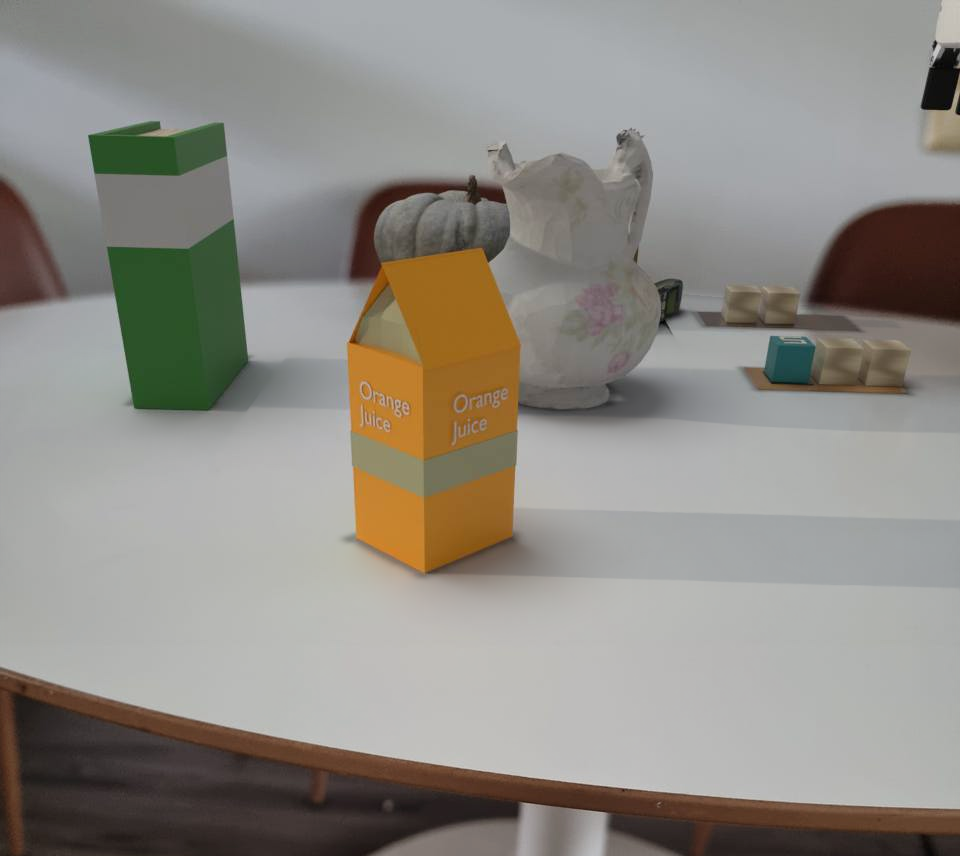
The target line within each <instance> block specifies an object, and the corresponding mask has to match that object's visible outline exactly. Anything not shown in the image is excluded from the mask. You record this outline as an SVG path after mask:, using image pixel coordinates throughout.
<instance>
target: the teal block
mask: <svg viewBox="0 0 960 856" xmlns="http://www.w3.org/2000/svg"><path fill="white" fill-rule="evenodd" d="M815 345H816V344H814V343H813V342H812V341H811V339H809V338H808V337H807V336H793V335H792V336H791V335H790V336H789V335H788V336H787V335H770V336H769V341H768V346H767V352H766V358H765V362H764V363H765V364H764V368H765V369H764V372H765V374H766V375H767V376H768V377H769V379H770V380H771V381H772V382H785V383H809V378H810V373H811V368H812V363H813V358H814V353H815V348H816V346H815Z"/></svg>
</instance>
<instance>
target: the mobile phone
mask: <svg viewBox="0 0 960 856" xmlns="http://www.w3.org/2000/svg"><path fill="white" fill-rule="evenodd" d="M654 284H655V286H656V288H657V290H658V293H659V297H660V301H661V316H660V321H659V324H662V323H664V322H666V319H669V318H671V317H673V316H675V315H677V313H678V312H679V310H680V308H681V304H682V298H683V290H684V283H683V280H681V279H678V278H665V279H662V280H659V281H656V282H654Z"/></svg>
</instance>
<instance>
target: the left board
mask: <svg viewBox="0 0 960 856" xmlns="http://www.w3.org/2000/svg"><path fill="white" fill-rule="evenodd" d="M800 298H801V292H799V291H798V290H797V289H795V287H793V286H772V285H763V286H762V291H761V290H760V288H758V287H757V286H756V285H738V284H737V285H736V284H726V285H725V287H724V294H723V301H722V308H721V311H720V312H719V311H696V314H697V315H698V316H699V318H700V319H701V321H702V322H703V323H704V326H705V327H715V328H716V327H721V328H753V329H756V328H757V329H787V330H789V329H790V330H819V331H820V330H823V331H826V330H828V331H856V332H857V331H860V329H859V328H858V327H856V326H855V325H854V324H853V323H852V322H851V321H849V320H848V319H847V318H845V316H843V315H827V314H825V315H824V314H798V308H799V303H800Z"/></svg>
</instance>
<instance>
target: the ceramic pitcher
mask: <svg viewBox="0 0 960 856" xmlns="http://www.w3.org/2000/svg"><path fill="white" fill-rule="evenodd" d="M636 130H637V128H632V127H630V128H629V129H623V130H620V131H619V132H618V134H616V138H615V139H616V148H615V151H614V153H613V156H612V159H611V160H610V161H609V162H608V164H607V165H606V166H605V167H604V168H592V166H590V165H589V164H588V162H587V161H585V160H584V159H581V158H578V157H576V156H574V155H571V154H568V153H566V152H564V151H560V152H557V153H553V154H549V155H547V156H545V157H543V158H541V159H537V160H536V159H535V160H527V161H526V160H521V161H519V162H514V159H513V156H512V153H511V151H510V149H509V146H508V143H507V140H497V141H494V142H492V144H491V145H490V144H489V145H485V146H484V147H485V150H486V151H487V166H488V169H489V173H490V175H491V178H492V179H493V180H494V181H495V182H496V183H497V184H498V185H500V186H502V190H503V193H504V199H505V201H506V202H505V203H506V204H507V206H508V210H509V214H510V236H509V238H508V240H507V243H506V245H505V247H504V249H503V250H502V251H501V252H500V253H499V254H498V255H497V256H496V257H495V258H494V259H493V260H491V261H490V262H489V263H488V264H489V266H490V269H491V271H492V274H493V276H494V279H495V281H496V284H497V286H498V289H499V291H500V294H501V296H502V299H503V301H504V304H505V306H506V309H507V311H508V314H509V316H510V319H511V321H512V324H513V326H514V329H515V331H516V334H517V336H518V339H519V341H520V343H521V346H522V347H521V348H520V371H519V395H518V404H521V405H525V406H529V407H533V408H541V409H549V410H584V409H591V408H593V407H598V406H601V405H604V404H605V403H606V402H608V401H609V397H610V390H609V388H608V386H607V384H610V383H613V382H616V381H618V380H621V379H622V378H624V377H626V376H627V375H628V374H630V373H631V372H632V371H633V370H634V369H635V368H637V367H638V366H639V364H640V363H641V362H642V361H643V359H644V358H645V357H646V355H647V354H648V352H649V351H650V350H651V348H652V345H653V344H654V341H655V339H656V337H657V334H658V331H659V326H660V323H659V321H660V316H661V301H660V297H659V293H658V290H657V288H656V286H655V284H654V283H655V282H654V280H653V278H652V277H651V276H650V275H649V274H648V272H646V270H644V269H643V268H641V266H639V264H638V262H637V263H636V262H635V261H634V260H633V259H634V255H635V253H636V251H637V248H638V246H640V245H641V244H640V243H641V241H642V239H643V232H644V229H645V228H644V227H645V224H646V219H647V216H648V211H649V207H650V202H651V198H652V189H653V180H654V171H653V166H652V160H651V157H650V155H649V152H648V149H647V146H646V145H645V142H644V141H643V140H642V139H643V138H644V137H645V136H646V135H644V134H643V135H641V134H640V131H636ZM638 249H639V248H638Z"/></svg>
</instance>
